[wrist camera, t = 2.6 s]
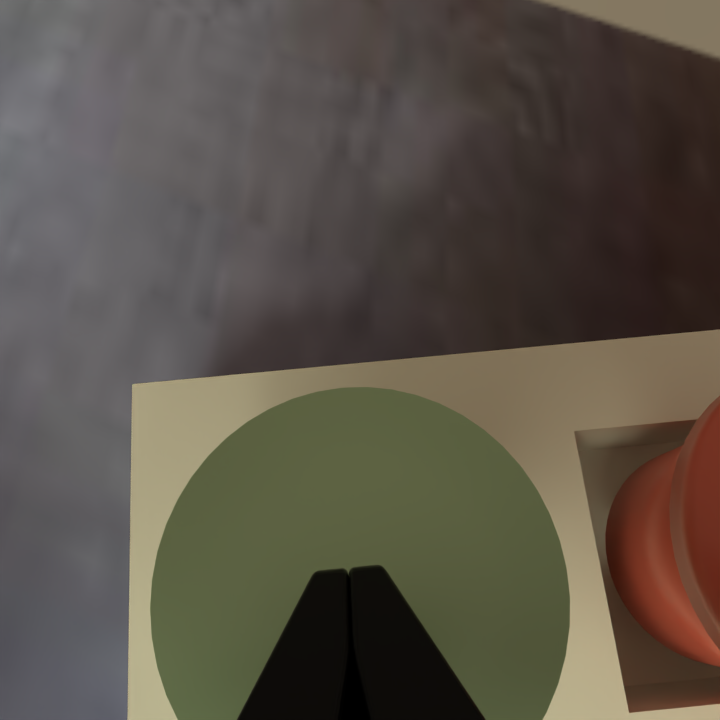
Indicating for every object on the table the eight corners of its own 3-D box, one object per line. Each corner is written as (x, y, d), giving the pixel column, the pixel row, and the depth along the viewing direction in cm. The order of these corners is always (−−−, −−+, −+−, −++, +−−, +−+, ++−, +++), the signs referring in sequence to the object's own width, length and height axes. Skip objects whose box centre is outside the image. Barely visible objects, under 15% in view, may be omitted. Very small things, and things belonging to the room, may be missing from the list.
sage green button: (516, 719, 14) (610, 808, 9) (237, 747, 14) (148, 855, 9) (475, 443, 16) (530, 370, 11) (227, 467, 16) (150, 405, 11)
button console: (1217, 713, 17) (1461, 750, 13) (181, 819, 17) (125, 888, 13) (1052, 340, 20) (1211, 283, 16) (178, 422, 20) (132, 384, 16)
